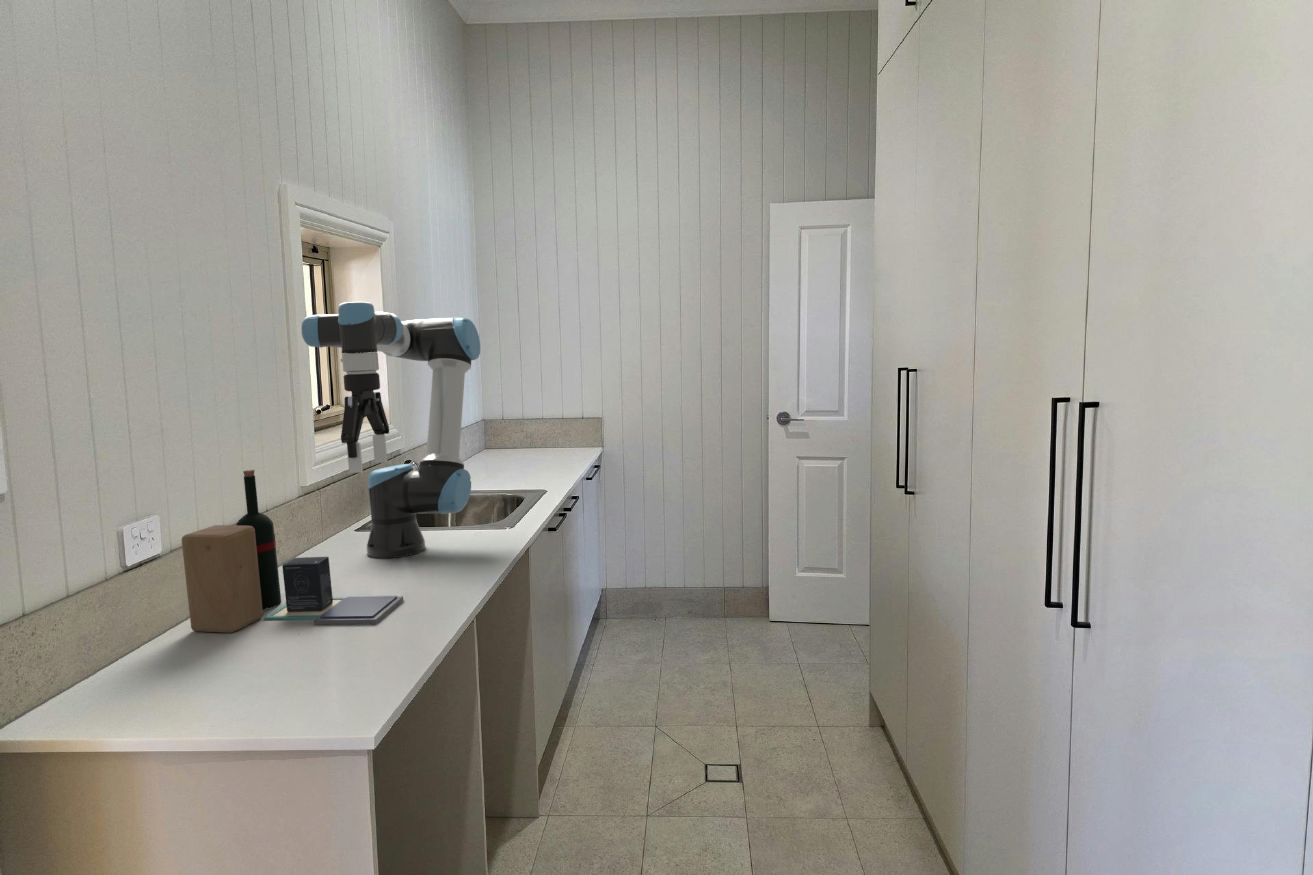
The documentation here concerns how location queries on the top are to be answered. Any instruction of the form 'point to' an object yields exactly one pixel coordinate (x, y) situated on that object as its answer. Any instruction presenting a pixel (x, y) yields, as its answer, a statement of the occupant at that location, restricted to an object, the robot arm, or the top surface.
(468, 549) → the top surface
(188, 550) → the wooden block
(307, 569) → the box
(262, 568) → the wine bottle
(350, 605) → the ink pad
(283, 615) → the print frame
